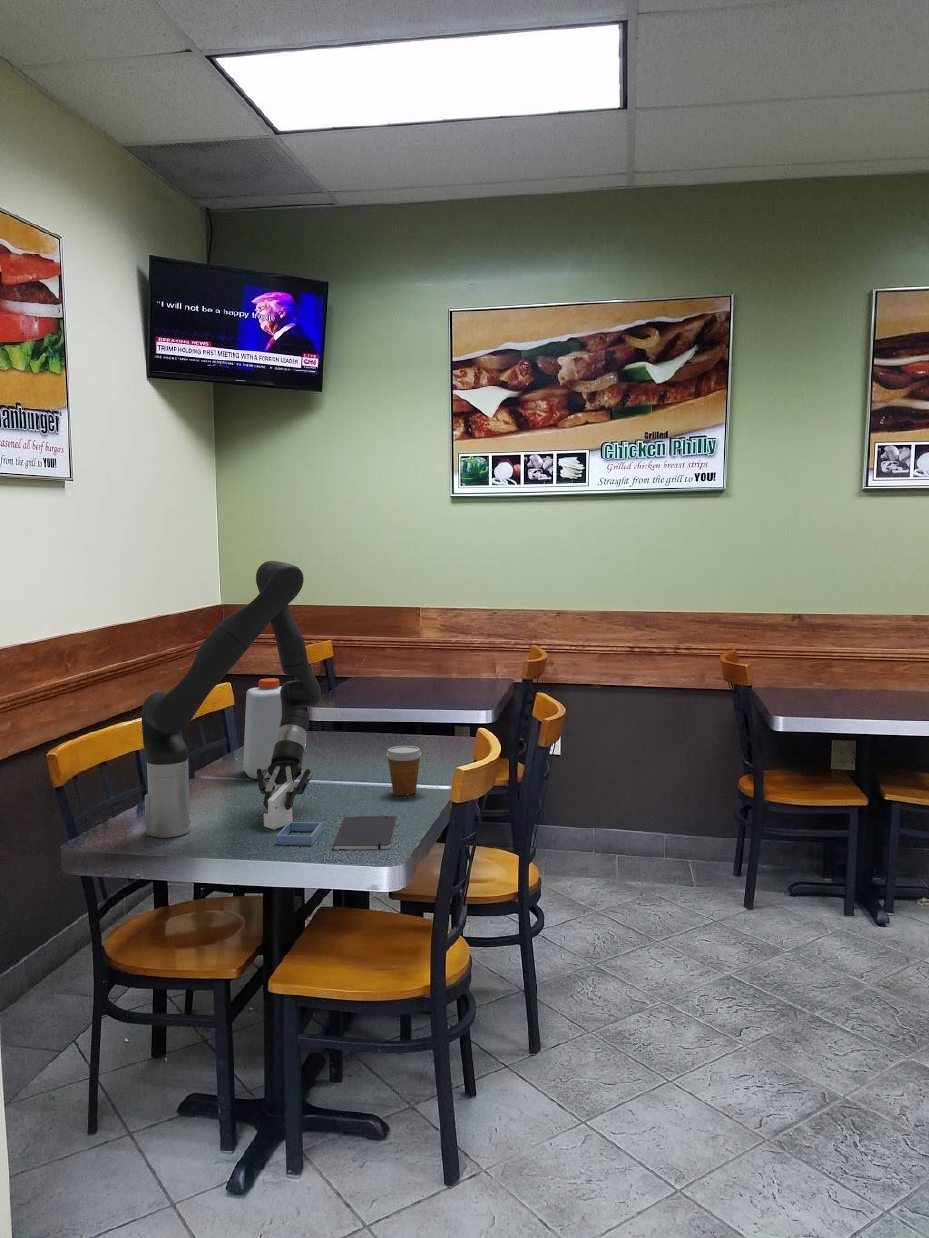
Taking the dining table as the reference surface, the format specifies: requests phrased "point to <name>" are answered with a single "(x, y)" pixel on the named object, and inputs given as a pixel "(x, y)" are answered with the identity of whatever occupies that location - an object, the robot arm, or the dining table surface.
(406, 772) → the disposable coffee cup
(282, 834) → the blue rectangular frame
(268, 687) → the plastic bottle
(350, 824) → the notebook
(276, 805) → the white angled block
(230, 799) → the dining table surface
